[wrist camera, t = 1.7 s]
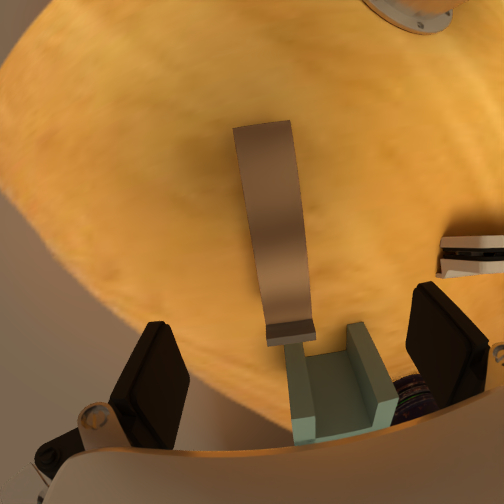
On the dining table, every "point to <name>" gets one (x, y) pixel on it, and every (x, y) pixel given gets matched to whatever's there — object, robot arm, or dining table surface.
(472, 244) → the grey layered block
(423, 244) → the dining table surface
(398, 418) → the storage jar
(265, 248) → the brown wooden block
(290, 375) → the u-shaped channel piece
